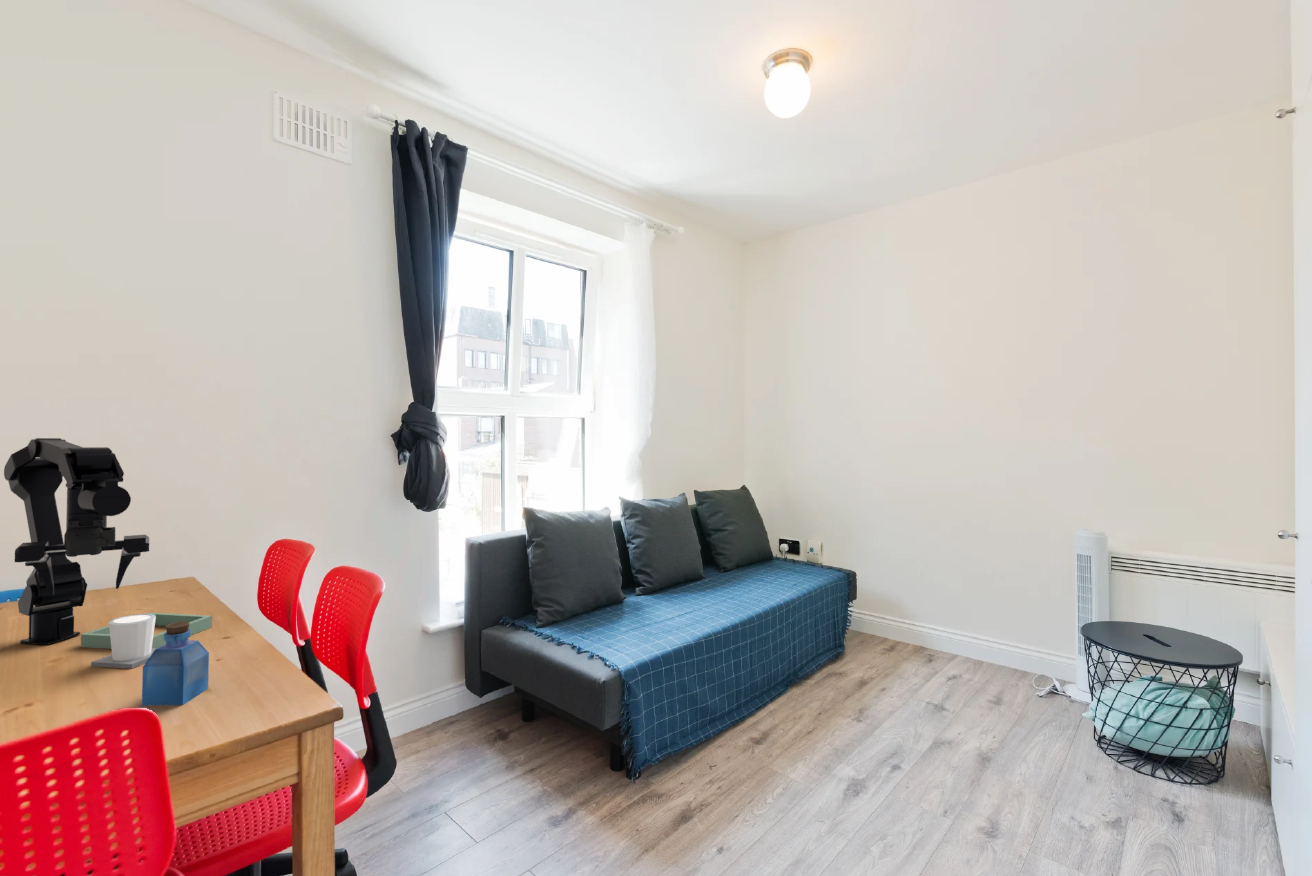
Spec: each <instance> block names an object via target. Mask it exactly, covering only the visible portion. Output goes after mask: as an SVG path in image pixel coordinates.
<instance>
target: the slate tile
mask: <svg viewBox="0 0 1312 876" xmlns="http://www.w3.org/2000/svg"><path fill="white" fill-rule="evenodd" d="M155 649H157V648H152V650H151V653H150V654H149V655H146V656H144V657H141V658H137V659H132V660H123V661H118V660H113V658H112V653H111V654H109V655H106V656H103V657H101V658H98V659H96V660H94V661H93V660H92V661H91V662H90V663H91V665H90V666H91V667H96V668H116V669H134V668H136V667H140V666H141V665H145V663H146V662H147V660H148V659H149V658H150V656H151V655H152V653H153V652H154V651H155Z"/></svg>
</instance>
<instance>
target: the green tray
mask: <svg viewBox="0 0 1312 876" xmlns="http://www.w3.org/2000/svg"><path fill="white" fill-rule="evenodd" d="M145 614H153V615H155V616H156V620H155V625H156V626H157V627H158V626H159V627H165V626H166V625H168V624H171V623H176V622H189V623H190V624H189V628H188V629H190V630H191V636H193V635H195V634H197V632H198V633H200V632H203V631H205V630H209V629H210V627H211V628H213V615H208V614H207V615H204V614H203V615H202V614H186V613H184V614H183V613H164V612H147V613H145ZM156 626H155V627H156ZM166 632H167V631H166V630H164V631H162V632H160V633H156V634H154V635H153V642H152V648H159V647H161V646H163V645H165V644H166V641H165V640H164V633H166ZM192 634H193V635H192ZM80 647H81V648H92V649H93V648H97V649H111V639H110V629H109V625H107V626H103V627H101V628H96V629H94V630H91V631H87V632H84V633H82V634H81V633H80ZM111 650H112V649H111Z"/></svg>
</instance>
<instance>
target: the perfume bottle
mask: <svg viewBox="0 0 1312 876" xmlns="http://www.w3.org/2000/svg"><path fill="white" fill-rule="evenodd" d="M189 624H190V623H189V622H176V623H171V624H168V625H166V626H164V627H165V631H167V632H166V633H164V640H165V641H166V644H165V645H163V646H161V647H159V648H157V649H155V651H154V652H153V653H152V655H151V656H150V658H149V659H148V660H147V662H146V663H144V664H143V666H142V678H141V679H142V681H141V682H142V684H141V688H142V689H141V706H184V705H185V704H187V703H189V702H190V701H192V700H193V699H195V698H196V697H197V696H199V695H201V694H202V693H204V692H205V691H207V690H208V689H209V672H210V671H209V666H210V662H209V661H210V652H209V651H208V650H207V649H206V648H205V647H204V645H203V644H202V643H201V642H200V641H199V640H189V638H190V637H192V635H191V630H190V629H188V628H189Z"/></svg>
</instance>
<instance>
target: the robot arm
mask: <svg viewBox="0 0 1312 876" xmlns="http://www.w3.org/2000/svg"><path fill="white" fill-rule="evenodd" d="M3 468H4V469H3V476H4V479H5V480H6V481H8V486H9V489H10V491H11V492H12V493H13V494H14V495H16V496H17V497H18V498H20V499H21V500H22V501H23V504H24V509H25V515H26V520H27V525H28V526H27V527H28V532H29V537H30V542H23V543H21V544H20V545H18V547H16V548H15V550H14V563H24V566H26V567H33V570H32V571H31V573H30V574H29V576H28V578H27V579H26V586H25V588H24V590H23V591H22V593H21V596H20V597H19V600H18V601H17V608H18V613H19V614H23V615H25V616H26V617H28V637H27V638H25V639H20V641H19V643H20V642H21V643H20V644H29V643H35V644H34V645H51V644H54V643H58V642H61V641H64V640H67V639H70V638H73V637H76V636H81V631H75V616H74V608H76V607H83V605H84V602H85V598H86V592H87V589H88V583H87V582H86V580H85V578H84V577H83V575H82V570H81V564H79V561H71V560H70V559H68V558H67V557H69V558H75V557H77V556H88V555H89V556H96V555H100V554H101V553H102V552H105V551H106V552H108V551H117V550H118V551H119V550H121V554H120V559H119V562H118V563H119V564H118V569H117V573H116V579H115V589H116V590H118V589H119V588H120V585H121V583H122V580H123V579H124V576H125V574H126V571H127V569H128V567H130V566H129V565H130V564H131V562H132V561H133V559H134V558H137V557H138V558H139V557H141V554H142V553H147V552H150V536H148V535H147V534H135V535H124V536H123V539H122V540H116V527H115V526H110V527H107V524H108V521H107V520H108V517H114V516H118V515H120V514H122V513H124V512H125V511H127V510H128V508H129V507H130V504H131V502H132V501H131V500H132V497H131V495H130V493H129V491H128V490H127V489H125V488H124V487H122V486H119V483H122V482H124V475H125V472H124V470H123V468H122V466H121V464H120V462H119V460H118V458H117V456H116V454H115V453H114V452H113V451H112V449H111V448H109V447H107V446H106V447H101V446H99V447H97V446H96V447H89V446H88V447H87V446H86V447H83V446H80V445H78V444H75V443H72V442H69V441H67V440H66V439H62V438H60V437H58V438H56V437H55V438H54V437H53V438H52V437H49V438H47V437H43V438H41V437H36V438H34V439H31V440H29V443H28V444H27V446H25V447H23V448H21V449H19V450H17V451H15V452H14V453H12V454H10V456H9V458H8V460H7V461H6V463H5V466H4V467H3ZM63 478H64V480H65V482H66V483H65V488H67V489H66V523H65V524H66V525H65V526H66V529H65V533H64V535H63V532H62V527H61V521H60V517H59V512H58V511H59V510H58V507H57V500H56V493H57V490H58V489H59V487H60V486H61V484H62V483H63Z"/></svg>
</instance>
